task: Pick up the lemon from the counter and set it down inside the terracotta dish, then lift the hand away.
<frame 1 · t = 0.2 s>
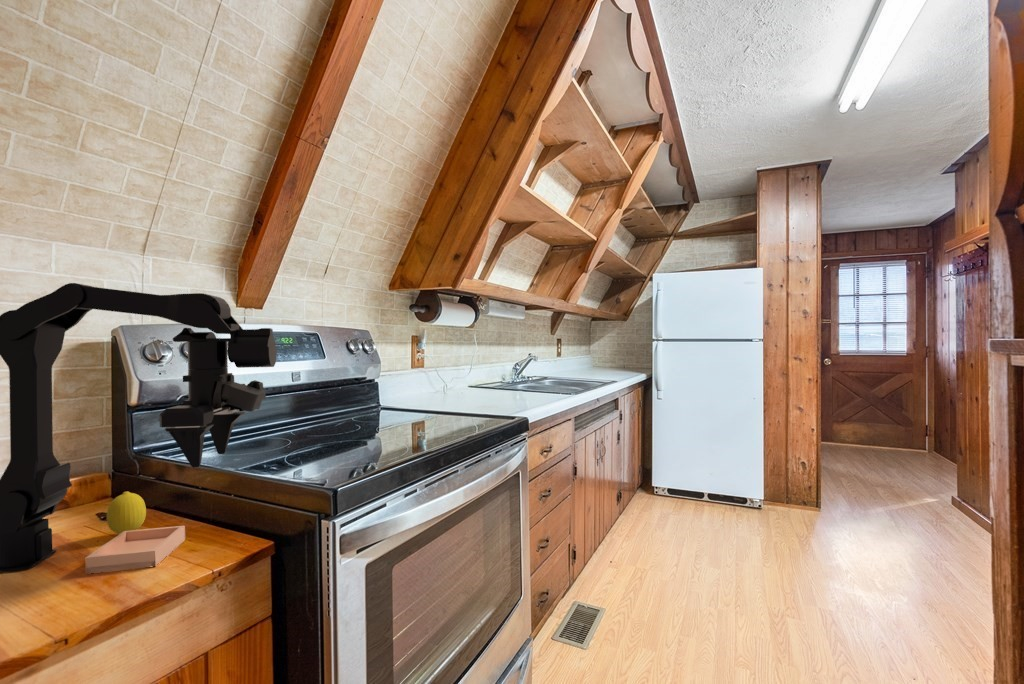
hand: (209, 460, 83), 14 cm above the counter, tool pointing down, fingers open, 9 cm apart
dish: (139, 555, 79), on the counter
lemon: (127, 537, 87), on the counter
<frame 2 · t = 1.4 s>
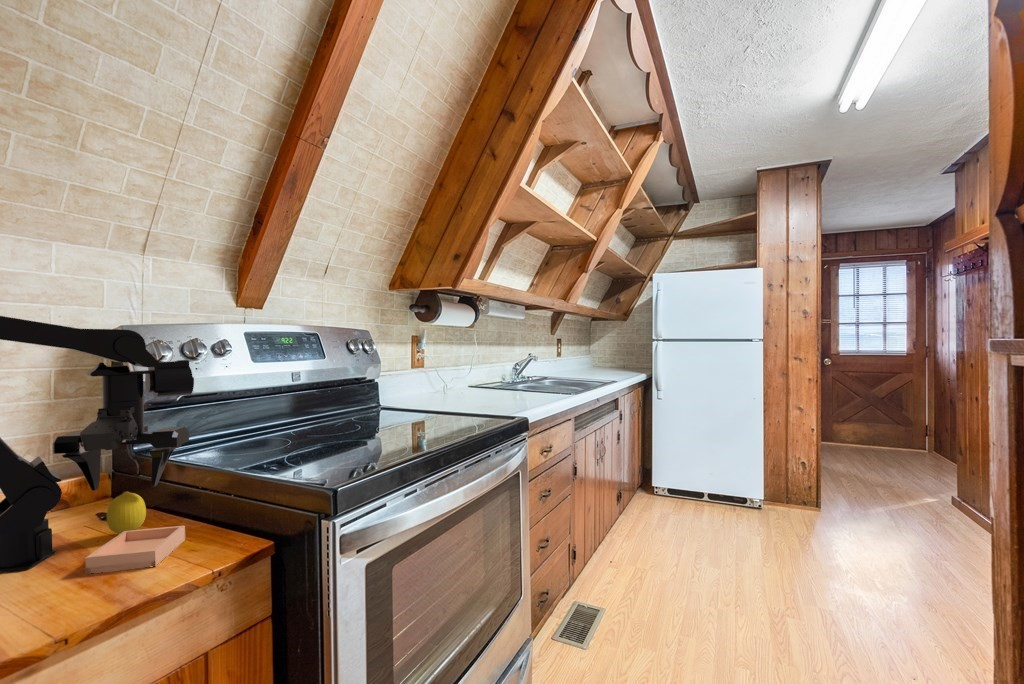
hand: (125, 488, 87), 9 cm above the counter, tool pointing down, fingers open, 9 cm apart
nothing on the counter moved.
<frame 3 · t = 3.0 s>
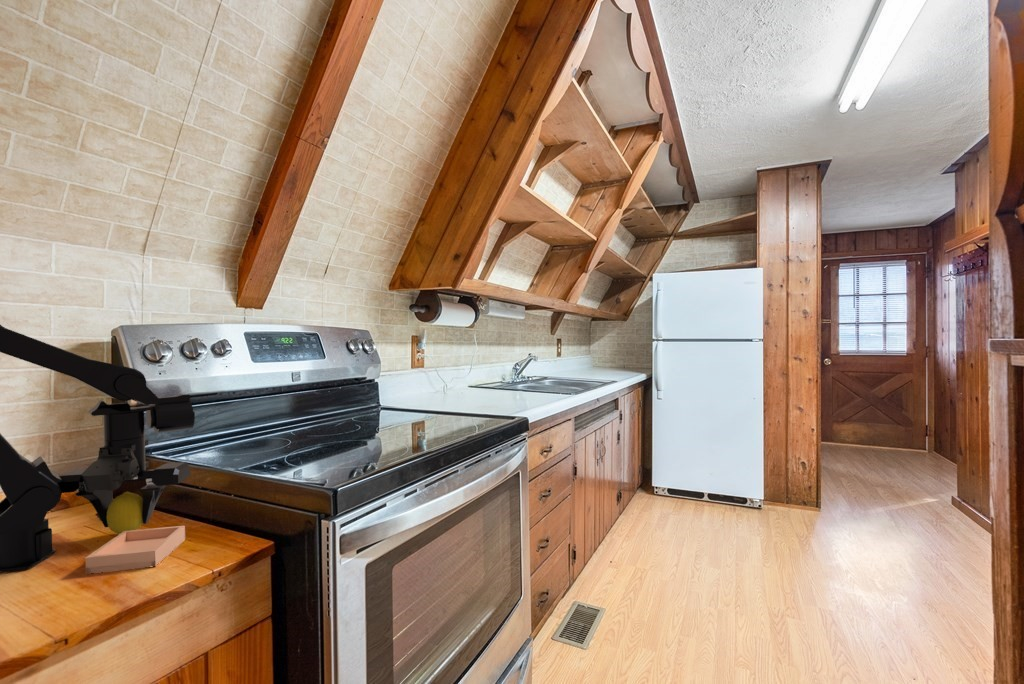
hand: (126, 524, 87), 2 cm above the counter, tool pointing down, fingers closed on lemon, 5 cm apart
lemon: (127, 537, 87), on the counter, touching gripper
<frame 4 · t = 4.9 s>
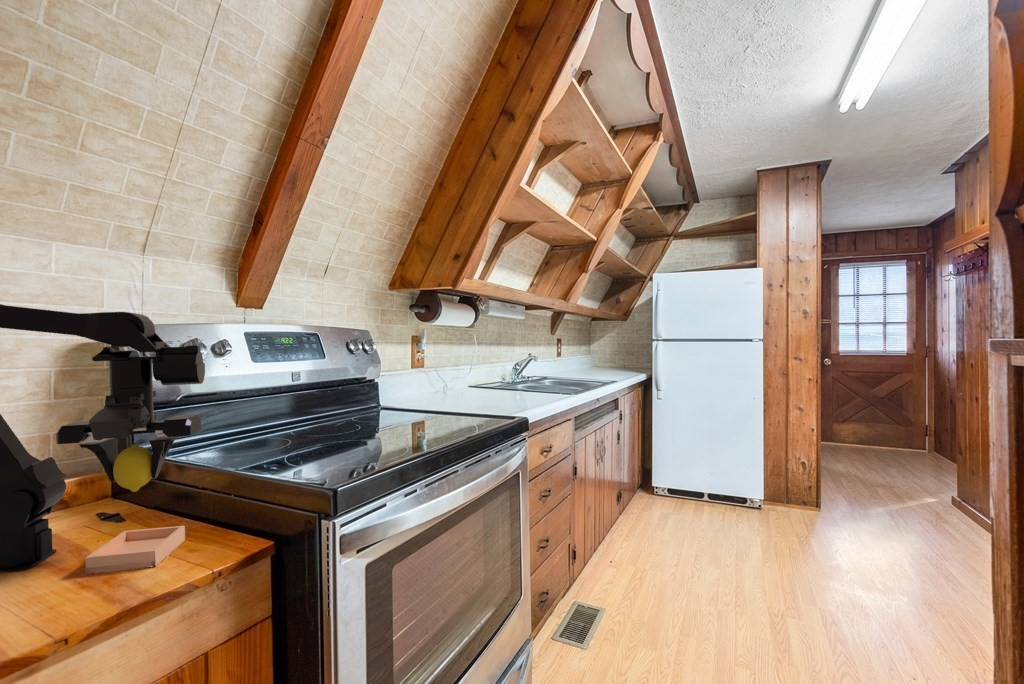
hand: (134, 479, 82), 11 cm above the counter, tool pointing down, fingers closed on lemon, 5 cm apart
lemon: (135, 493, 83), point 9 cm above the counter, touching gripper
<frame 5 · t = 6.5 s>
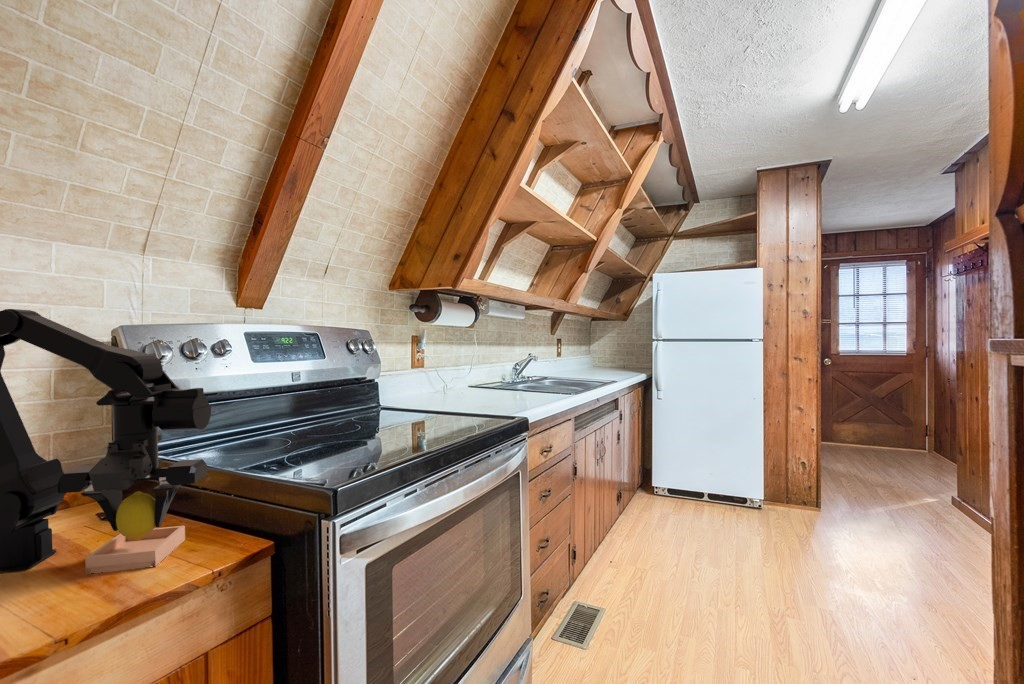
hand: (137, 528, 79), 4 cm above the counter, tool pointing down, fingers closed on lemon, 5 cm apart
lemon: (138, 541, 79), point 2 cm above the counter, touching gripper
when the fingers open (4 cm above the counter, at t = 7.2 s): lemon drops 1 cm, resting on dish.
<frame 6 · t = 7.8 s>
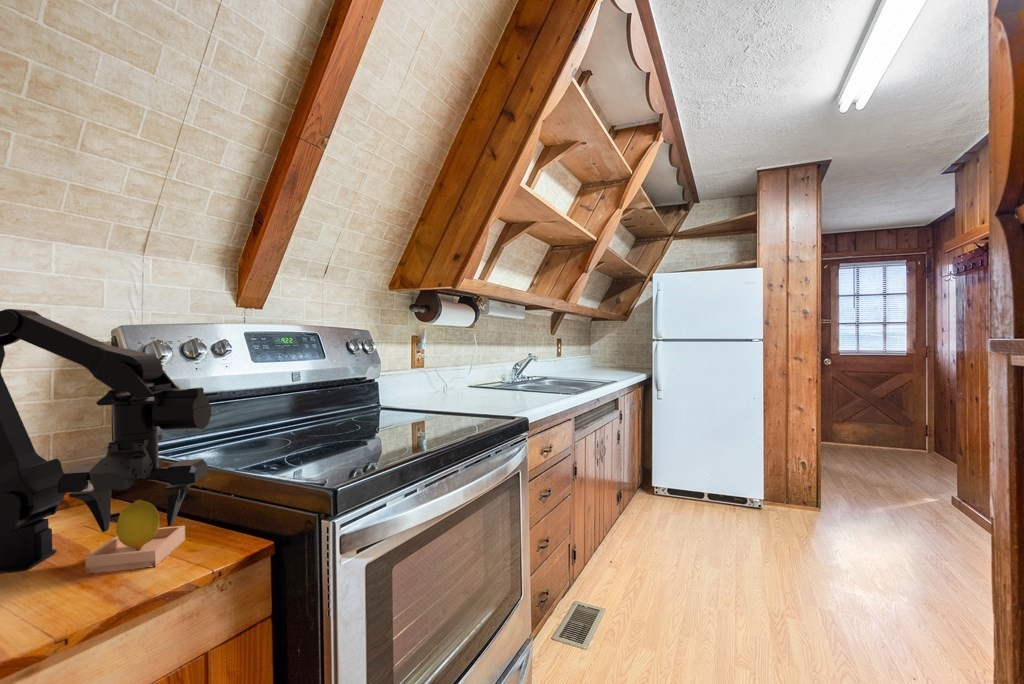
hand: (138, 528, 79), 4 cm above the counter, tool pointing down, fingers open, 9 cm apart
lemon: (138, 550, 79), point 1 cm above the counter, touching dish
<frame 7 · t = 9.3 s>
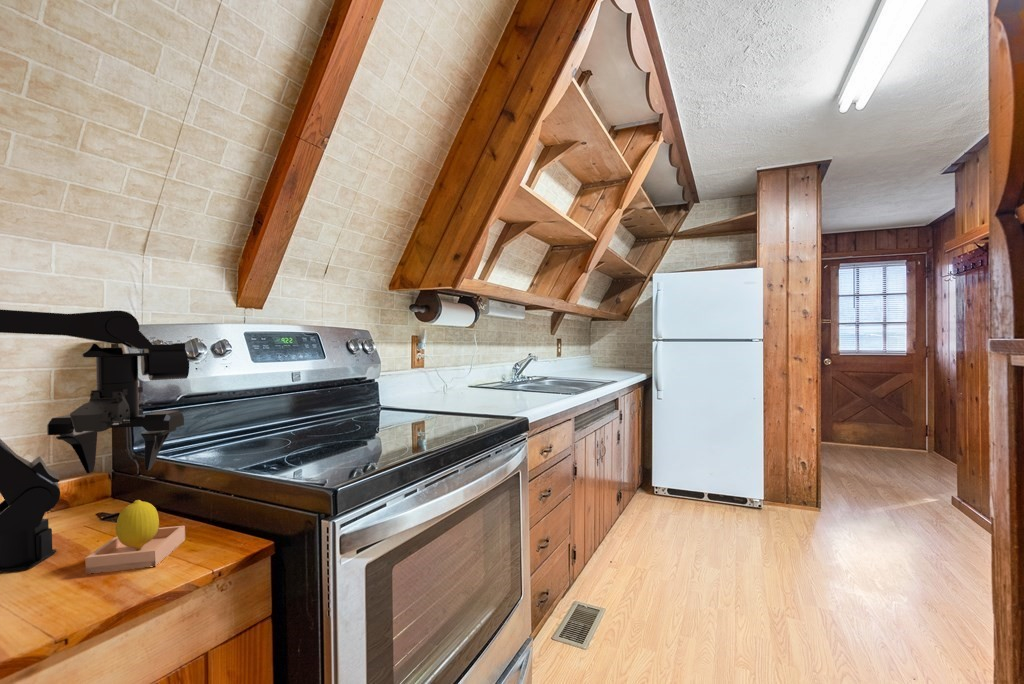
hand: (119, 471, 86), 12 cm above the counter, tool pointing down, fingers open, 9 cm apart
nothing on the counter moved.
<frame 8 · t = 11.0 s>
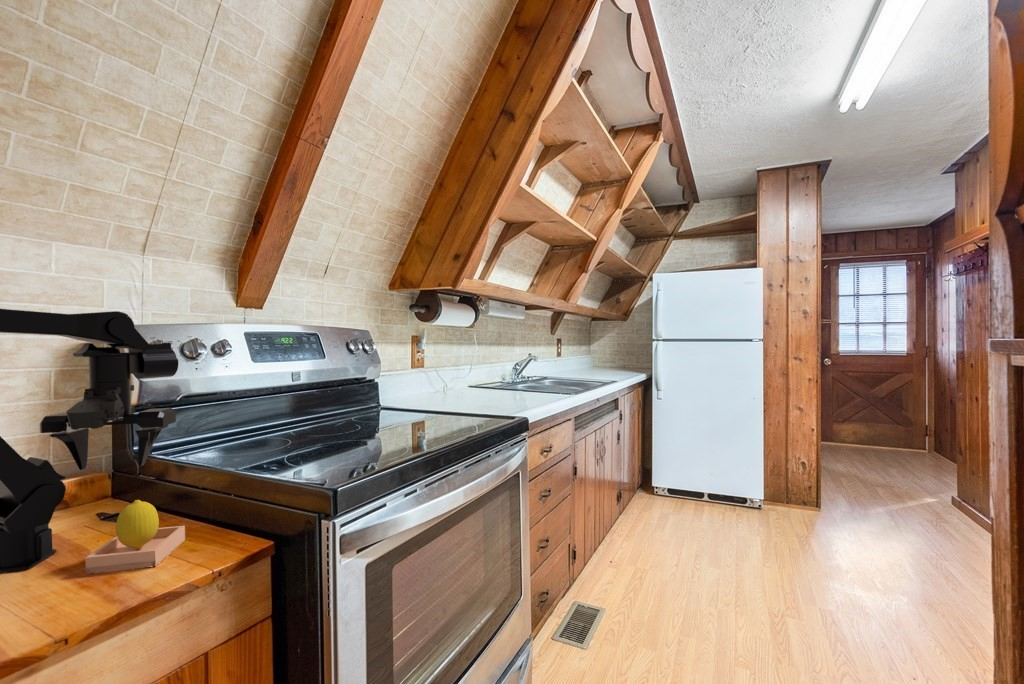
hand: (112, 467, 89), 12 cm above the counter, tool pointing down, fingers open, 9 cm apart
nothing on the counter moved.
at the end: lemon inside the target area on the dish (0.1 cm from its centre), point 0.8 cm above the dish's base; the gripper is holding nothing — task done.
